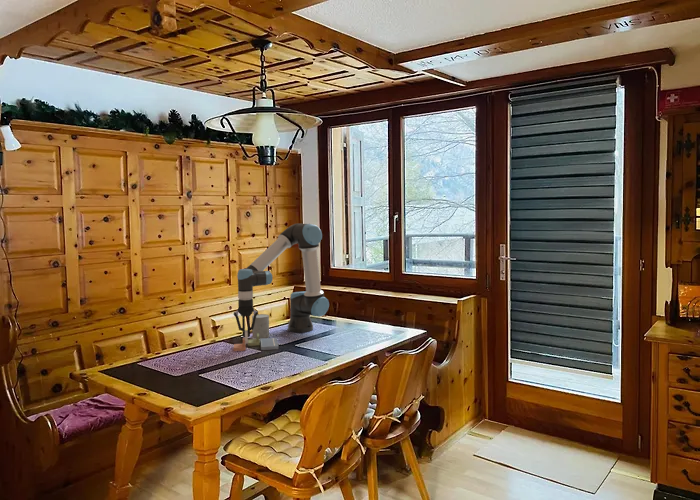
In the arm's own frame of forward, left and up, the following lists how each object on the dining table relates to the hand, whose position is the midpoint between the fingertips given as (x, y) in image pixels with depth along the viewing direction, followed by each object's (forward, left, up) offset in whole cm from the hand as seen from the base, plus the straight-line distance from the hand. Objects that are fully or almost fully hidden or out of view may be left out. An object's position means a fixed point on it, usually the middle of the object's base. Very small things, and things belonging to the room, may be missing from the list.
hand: (246, 343), depth 284 cm
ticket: (-12, -5, -3) cm, 13 cm away
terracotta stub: (+4, 0, -3) cm, 5 cm away
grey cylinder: (-8, -24, -3) cm, 25 cm away
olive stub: (-4, -9, -3) cm, 10 cm away
